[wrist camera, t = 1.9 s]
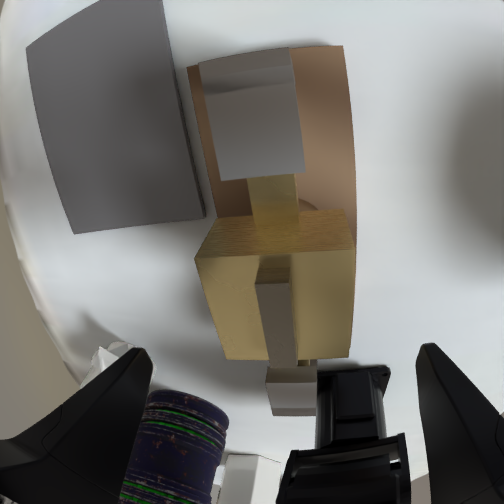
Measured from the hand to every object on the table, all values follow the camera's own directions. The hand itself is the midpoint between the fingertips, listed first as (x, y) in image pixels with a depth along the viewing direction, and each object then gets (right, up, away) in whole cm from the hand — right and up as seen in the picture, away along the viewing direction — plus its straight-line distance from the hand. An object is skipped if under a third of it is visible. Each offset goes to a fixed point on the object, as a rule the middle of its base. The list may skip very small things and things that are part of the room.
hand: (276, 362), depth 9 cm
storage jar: (-8, -15, +21) cm, 27 cm away
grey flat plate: (-9, +11, +6) cm, 15 cm away
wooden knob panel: (+1, +5, +8) cm, 9 cm away
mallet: (+1, +3, +4) cm, 5 cm away
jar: (-1, -28, +28) cm, 40 cm away
